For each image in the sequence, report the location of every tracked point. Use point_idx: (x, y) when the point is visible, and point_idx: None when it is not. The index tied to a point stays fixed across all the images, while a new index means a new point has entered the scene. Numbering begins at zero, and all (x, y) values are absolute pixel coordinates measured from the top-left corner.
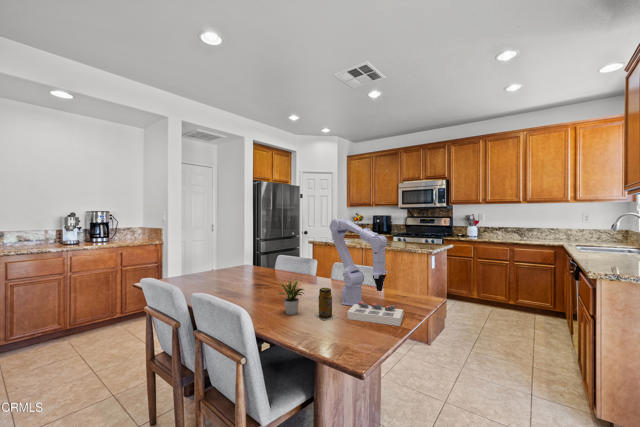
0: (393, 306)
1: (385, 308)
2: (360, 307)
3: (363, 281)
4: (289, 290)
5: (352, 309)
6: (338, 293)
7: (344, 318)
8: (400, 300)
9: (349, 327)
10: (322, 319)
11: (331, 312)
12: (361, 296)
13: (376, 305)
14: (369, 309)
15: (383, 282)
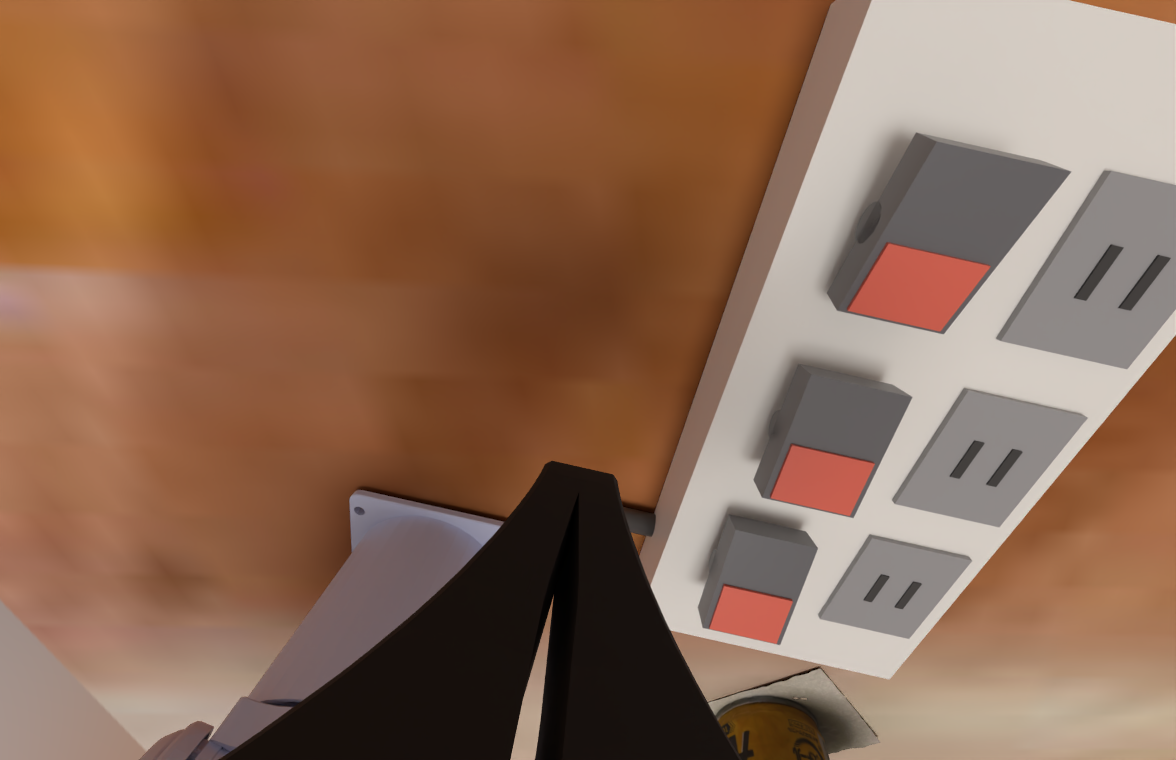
0: (1021, 180)
1: (942, 320)
2: None
3: (176, 752)
4: None
5: (825, 643)
6: (208, 658)
7: None
8: (59, 8)
9: (1069, 602)
10: (866, 745)
11: (798, 734)
12: (390, 572)
13: (861, 455)
14: None
15: (487, 609)
